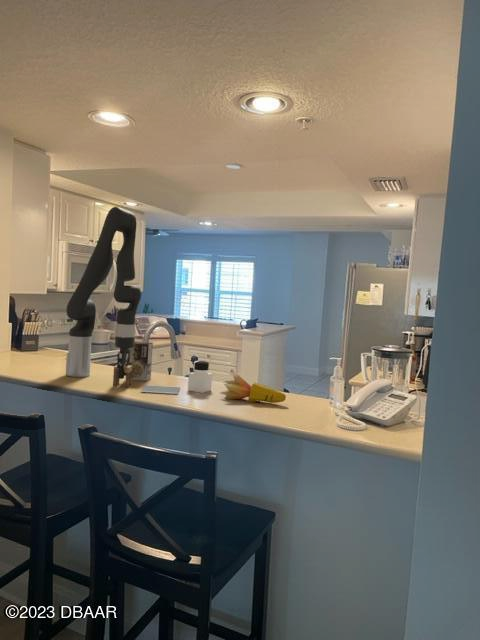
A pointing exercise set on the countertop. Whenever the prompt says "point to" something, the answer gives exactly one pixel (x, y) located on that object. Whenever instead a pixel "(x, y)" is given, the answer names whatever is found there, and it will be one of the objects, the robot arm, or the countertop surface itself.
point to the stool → (128, 376)
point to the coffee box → (141, 360)
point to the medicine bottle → (200, 378)
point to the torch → (251, 391)
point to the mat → (160, 389)
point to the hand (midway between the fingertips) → (122, 376)
